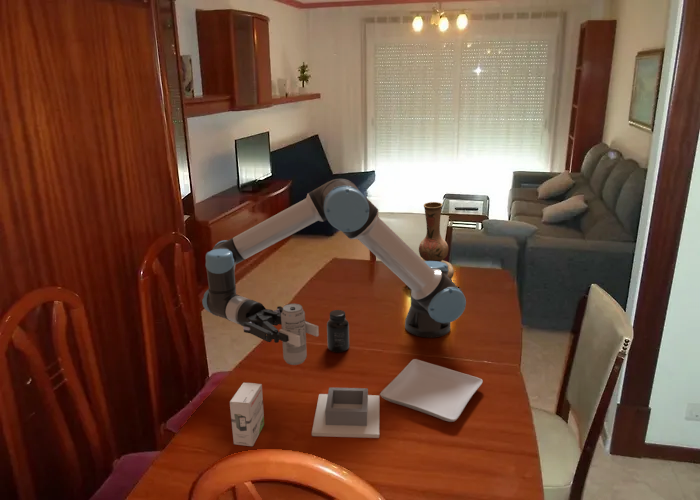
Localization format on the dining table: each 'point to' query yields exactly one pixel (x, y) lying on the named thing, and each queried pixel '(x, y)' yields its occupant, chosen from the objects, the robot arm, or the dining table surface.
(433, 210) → the vase
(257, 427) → the ink box
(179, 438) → the dining table surface
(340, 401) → the socket board
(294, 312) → the energy drink can
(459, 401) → the salad plate
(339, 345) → the supplement bottle
